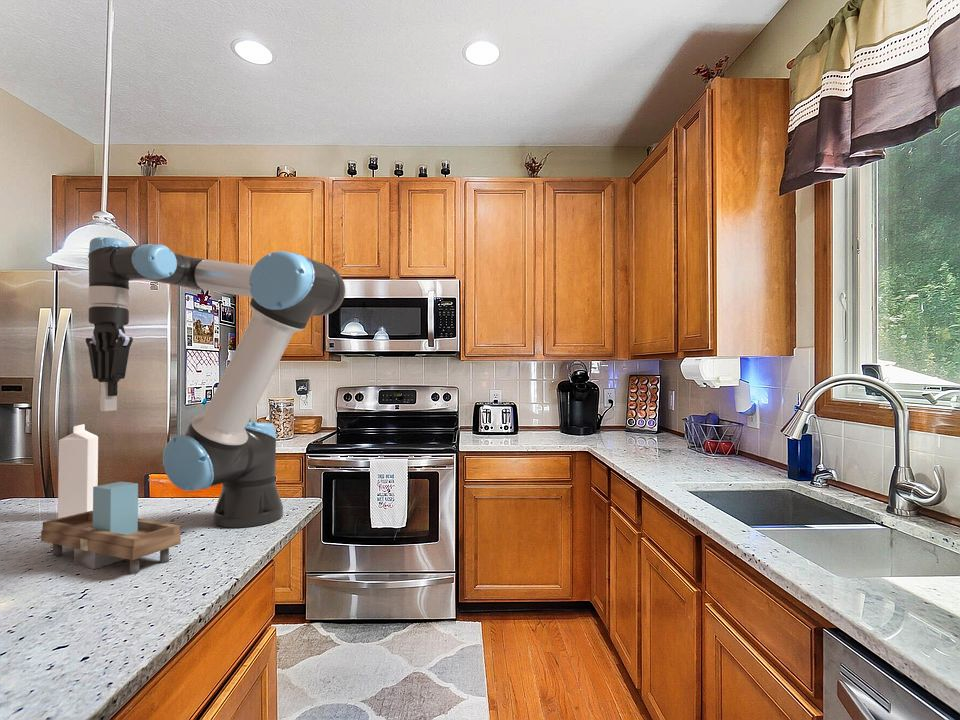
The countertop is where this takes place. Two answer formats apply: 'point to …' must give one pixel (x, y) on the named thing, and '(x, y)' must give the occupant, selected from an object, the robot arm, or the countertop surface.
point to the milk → (77, 472)
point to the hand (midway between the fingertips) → (108, 410)
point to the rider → (116, 507)
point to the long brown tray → (109, 541)
